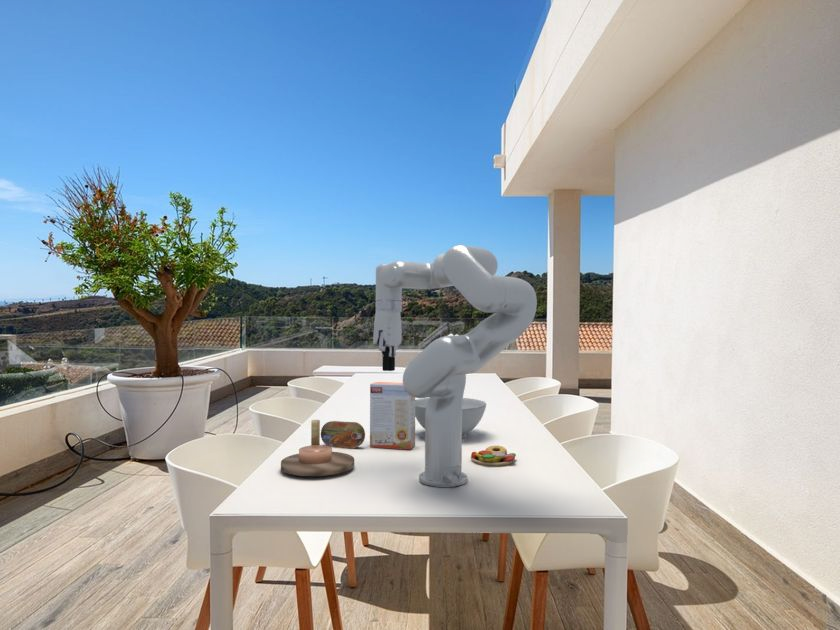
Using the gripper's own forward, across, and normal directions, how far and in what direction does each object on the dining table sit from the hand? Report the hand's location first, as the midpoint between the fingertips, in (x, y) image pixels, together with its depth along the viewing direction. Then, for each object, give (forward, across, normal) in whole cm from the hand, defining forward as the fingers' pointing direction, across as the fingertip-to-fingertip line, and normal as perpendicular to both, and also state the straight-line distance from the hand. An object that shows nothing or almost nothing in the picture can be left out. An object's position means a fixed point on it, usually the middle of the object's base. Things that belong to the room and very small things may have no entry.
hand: (388, 370), depth 154 cm
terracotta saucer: (+24, +12, -17) cm, 32 cm away
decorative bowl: (+27, -42, +4) cm, 50 cm away
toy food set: (+28, -16, +27) cm, 42 cm away
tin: (+27, -13, -23) cm, 38 cm away
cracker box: (+27, -19, -8) cm, 34 cm away
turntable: (+27, +12, -16) cm, 33 cm away
